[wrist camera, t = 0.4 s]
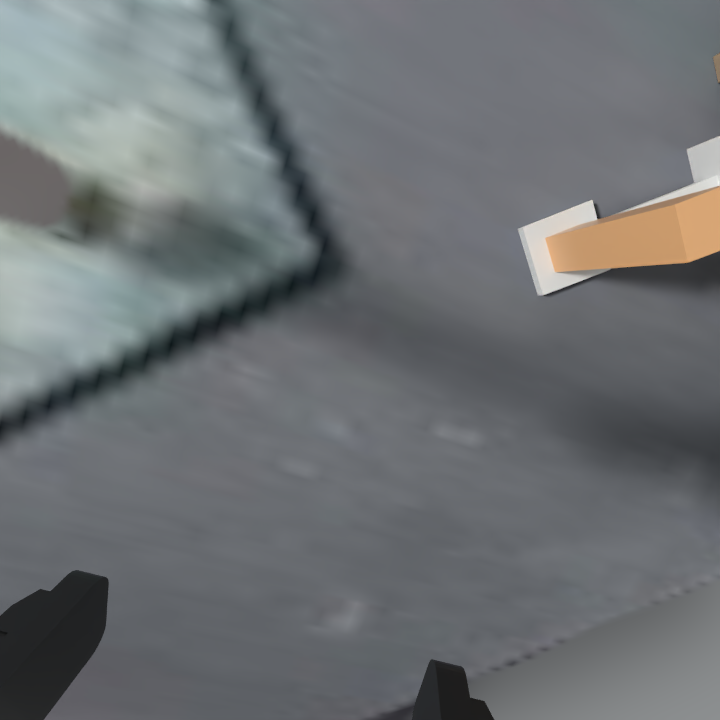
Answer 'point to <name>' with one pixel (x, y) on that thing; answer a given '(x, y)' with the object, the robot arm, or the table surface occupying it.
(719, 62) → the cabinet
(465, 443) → the table surface
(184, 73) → the table surface
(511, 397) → the table surface
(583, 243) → the orange post on base
